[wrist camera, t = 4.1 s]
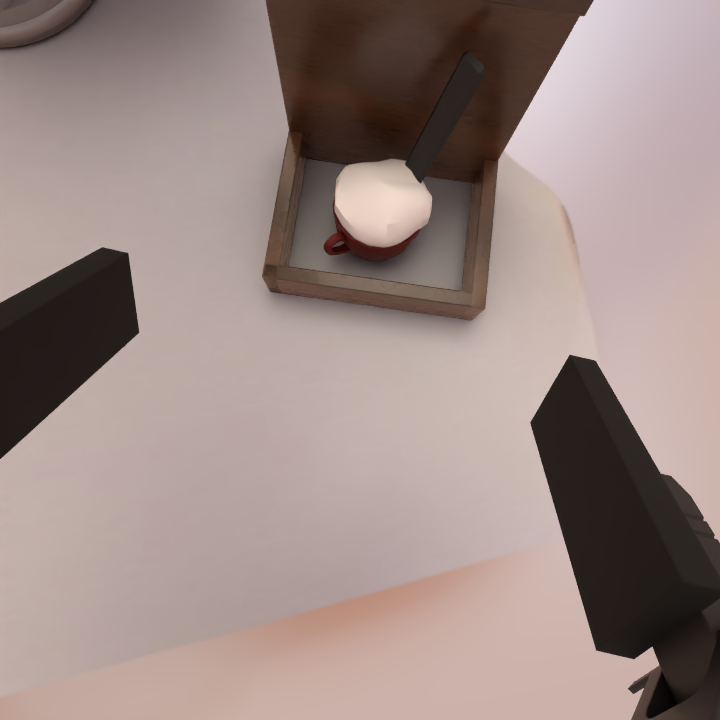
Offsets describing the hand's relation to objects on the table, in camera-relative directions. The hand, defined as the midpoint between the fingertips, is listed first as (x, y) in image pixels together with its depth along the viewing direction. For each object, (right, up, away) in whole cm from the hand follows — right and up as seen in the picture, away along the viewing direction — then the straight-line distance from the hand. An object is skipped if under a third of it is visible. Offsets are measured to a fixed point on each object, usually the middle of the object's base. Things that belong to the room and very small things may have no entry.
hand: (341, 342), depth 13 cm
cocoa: (+2, +9, +20) cm, 22 cm away
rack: (+2, +9, +19) cm, 22 cm away
